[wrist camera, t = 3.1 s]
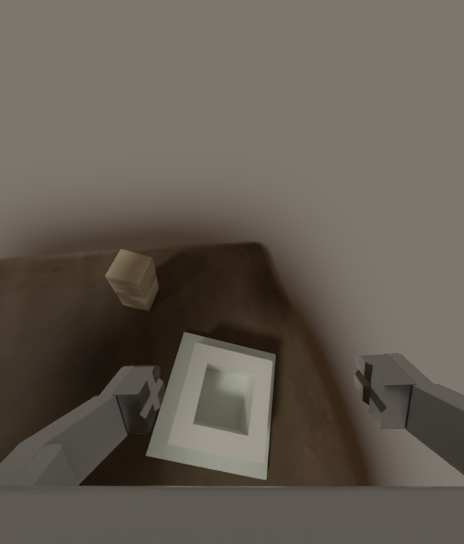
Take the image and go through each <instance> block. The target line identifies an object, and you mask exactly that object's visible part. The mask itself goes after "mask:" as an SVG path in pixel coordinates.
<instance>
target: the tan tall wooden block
mask: <svg viewBox="0 0 464 544" xmlns="http://www.w3.org/2000/svg"><path fill="white" fill-rule="evenodd" d="M105 277H106V278H107V280H108V282H109V283H110V285H111V286H112V288H113V290H114V291H115V293H116V294H117V296H118V297H119V299H120V301H121V302H122V304H123V305H126V306H130V307H134V308H138V309H142V310H146V311H150V309H151V306H152V304H153V301H154V299H155V297H156V294H157V292H158V290H159V286H158V281H157V276H156V272H155V267H154V262H153V258H152V257H148V256H145V255H141V254H137V253H133V252H130V251H126V250H122V249H121V250H120V251H119V253H118V255H117V257H116V258H115V260H114V262H113V263H112V265H111V267H110V268H109V270H108V272H107V273H106V275H105Z"/></svg>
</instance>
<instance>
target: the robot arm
mask: <svg viewBox="0 0 464 544" xmlns="http://www.w3.org/2000/svg"><path fill="white" fill-rule="evenodd" d="M355 364H356V366H357V367H358V369H359V370H358V371H357V372H356V373H355V385H356V389H357V392H358V394H359V396H360V397H361V399H362V401H364V402H365V403H367V404H368V405H369V412H370V414H371V415H372V417H373V419H374V420H375V422H376V423H377V425H378V427H379V428H380V429H382V428H383V429H406V430H407V431H408V432H409V433H411V434H412V435H413V436H415V437H416V438H417V439H419V440H420V441H421V442H422V443H424V444H425V445H426V446H427V447H429V448H430V449H431V450H433V451H434V452H435V453H436V454H438V455H439V456H440V457H441V458H443V459H444V460H445V461H447V462H448V463H449V464H450V465H452V466H453V467H455V468H456V469H457V470H458V471H460V472H461V473H462V474H463V475H464V395H462V394H460V393H457V392H455V391H453V390H451V389H449V388H446V387H444V386H442V385H440V384H433V383H432V382H431V381H430V380H429V379H428V378H427V377H425V376H424V375H423V374H422V373H421V372H420V371H419V370H418V369H417V368H416V367H415V366H414V365H413V364H411V363H410V362H409V361H408V360H407V359H406V358H405V357H404V356H403V355H401V354H399V353H393V354H384V355H365V356H357V358H356V363H355ZM160 375H161V370H160V366H158V365H137V366H124V367H122V368H121V369H120V370H119V371H118V373H117V374H116V375H115V376H114V378H113V379H112V380H111V381H110V383H109V384H108V385H107V386H106V388H105V389H104V390H103V391H102V393H101V394H100V395H99V396H95V397H93V398H91V399H90V400H88V401H87V402H85V403H83V404H82V405H80V406H79V407H77V408H75V409H74V410H72V411H71V412H69V413H67V414H66V415H64V416H63V417H61V418H59V419H58V420H56V421H55V422H53V423H51V424H50V425H48V426H47V427H45V428H43V429H42V430H40V431H39V432H37V433H35V434H34V435H32V436H31V437H29V438H27V439H26V440H24V441H23V442H21V443H20V444H19V445H18V446H17V447H16V448H15V449H14V450H13V451H12V452H11V453H10V454H9V455H8V456H7V457H6V458H5V459H4V460H3V461H2V462H1V463H0V544H464V487H426V486H425V487H424V486H421V487H420V486H416V487H415V486H410V487H409V486H400V487H399V486H370V487H369V486H78V485H79V484H80V483H81V482H82V481H83V480H84V479H85V478H86V477H87V476H88V475H89V474H90V473H91V472H92V471H93V470H94V469H95V468H96V467H97V466H98V465H99V464H100V463H101V462H102V461H103V460H104V459H105V458H106V457H107V456H108V455H109V454H110V453H111V452H112V451H113V450H114V449H115V448H116V447H117V446H118V445H119V443H120V442H121V441H122V440H123V439H124V438H125V437H126V436H127V434H140V433H149V432H150V430H151V427H152V425H153V423H154V420H155V418H156V414H155V411H156V410H157V409H158V408H160V407H161V404H162V402H163V398H164V393H165V391H164V382H163V381H162V380H161V379H160V378H159V377H160Z"/></svg>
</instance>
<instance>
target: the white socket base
mask: <svg viewBox="0 0 464 544" xmlns="http://www.w3.org/2000/svg"><path fill="white" fill-rule="evenodd" d="M275 358H276V354H272V353H268V352H263V351H259V350H255V349H251V348H247V347H243V346H239V345H235V344H231V343H227V342H223V341H219V340H215V339H211V338H207V337H203V336H199V335H195V334H191V333H187V332H184V334H183V337H182V340H181V344H180V347H179V350H178V353H177V357H176V360H175V363H174V366H173V369H172V373H171V376H170V379H169V382H168V385H167V389H166V392H165V395H164V398H163V402H162V405H161V408H160V411H159V414H158V418H157V421H156V424H155V427H154V431H153V434H152V437H151V440H150V443H149V447H148V450H147V453H146V456H150V457H154V458H159V459H164V460H169V461H174V462H179V463H184V464H189V465H194V466H199V467H204V468H209V469H214V470H219V471H224V472H229V473H234V474H239V475H244V476H249V477H254V478H259V479H264V480H266V477H267V464H268V451H269V438H270V425H271V411H272V398H273V385H274V372H275Z"/></svg>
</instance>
